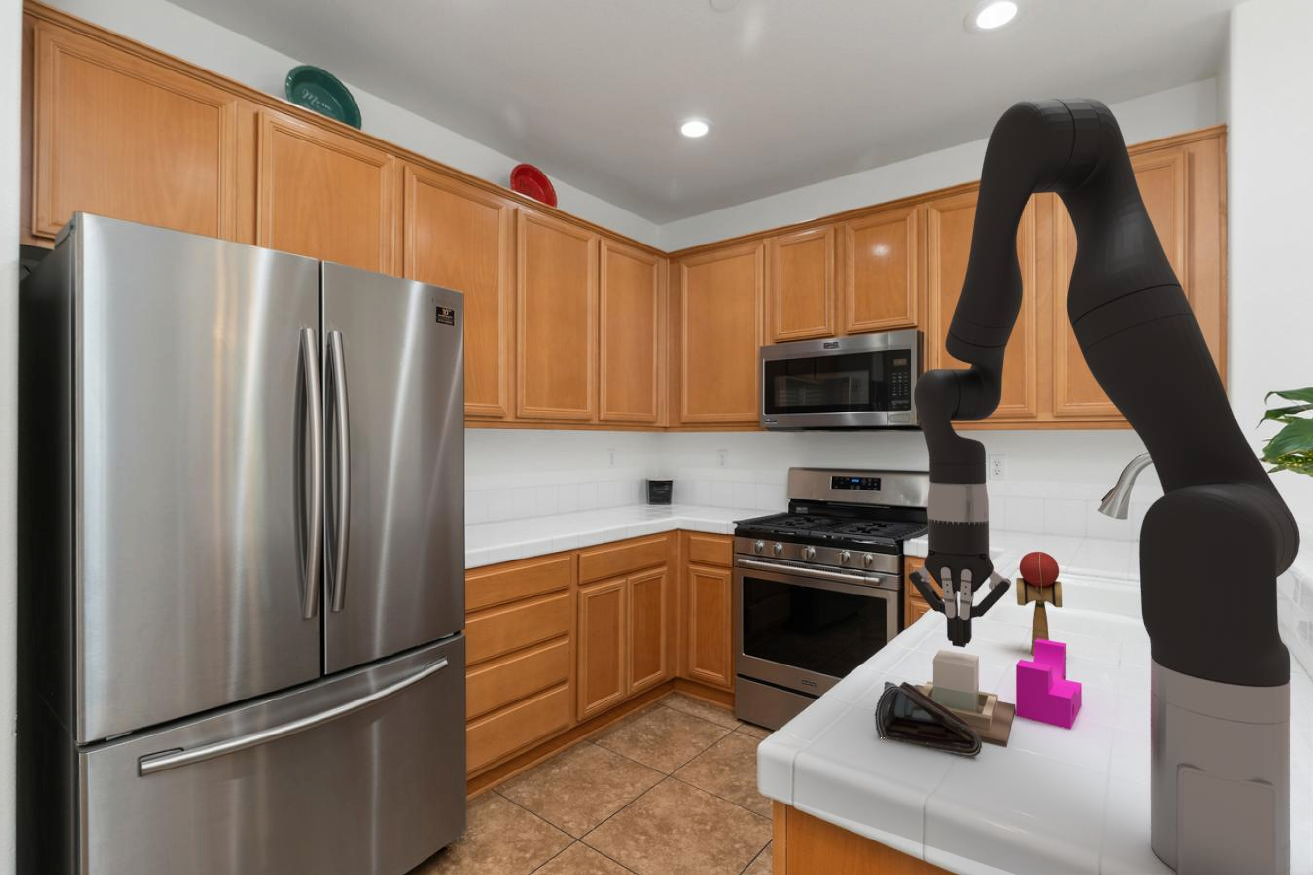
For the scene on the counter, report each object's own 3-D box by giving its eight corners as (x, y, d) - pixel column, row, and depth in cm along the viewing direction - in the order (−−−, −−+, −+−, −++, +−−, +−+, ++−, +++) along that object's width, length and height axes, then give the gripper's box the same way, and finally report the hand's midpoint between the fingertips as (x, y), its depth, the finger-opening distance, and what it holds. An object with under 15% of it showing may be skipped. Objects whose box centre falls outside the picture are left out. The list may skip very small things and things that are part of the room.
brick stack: (974, 720, 84) (974, 666, 84) (932, 712, 87) (932, 659, 87) (978, 707, 88) (978, 655, 88) (939, 699, 91) (939, 649, 91)
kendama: (1007, 653, 114) (1007, 551, 114) (1021, 645, 118) (1021, 547, 118) (1057, 665, 108) (1057, 557, 108) (1069, 656, 112) (1069, 552, 112)
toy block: (1070, 733, 84) (1070, 675, 84) (1016, 720, 88) (1016, 664, 88) (1086, 697, 95) (1086, 646, 95) (1037, 687, 99) (1037, 638, 99)
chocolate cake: (992, 725, 81) (916, 649, 85) (989, 746, 74) (907, 662, 79) (936, 771, 83) (865, 694, 88) (929, 794, 77) (854, 710, 82)
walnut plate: (1006, 750, 78) (1006, 728, 78) (894, 724, 86) (894, 704, 86) (1015, 712, 89) (1015, 693, 89) (915, 692, 96) (915, 674, 96)
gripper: (1016, 516, 87) (1017, 646, 87) (912, 511, 94) (913, 630, 94) (1010, 522, 81) (1012, 661, 81) (900, 516, 88) (901, 644, 88)
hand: (959, 644), depth 87 cm, fingers closed
